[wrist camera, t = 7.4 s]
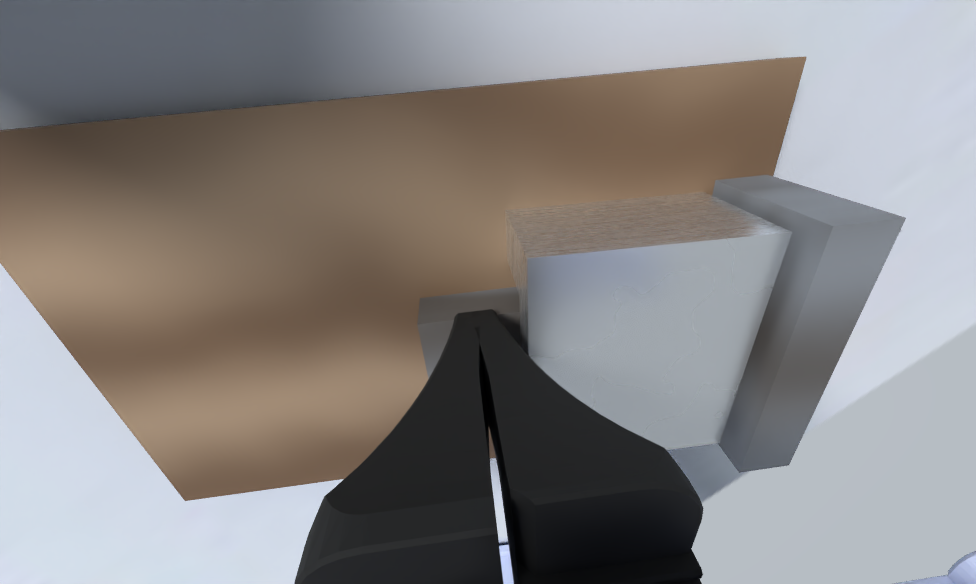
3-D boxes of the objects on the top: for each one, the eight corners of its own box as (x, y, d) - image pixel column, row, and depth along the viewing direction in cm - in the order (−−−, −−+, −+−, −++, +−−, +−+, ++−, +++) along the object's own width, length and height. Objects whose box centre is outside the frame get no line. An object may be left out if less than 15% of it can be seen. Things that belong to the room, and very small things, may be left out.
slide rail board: (691, 414, 18) (768, 519, 14) (195, 483, 17) (113, 619, 12) (783, 58, 11) (997, 47, 7) (-57, 135, 10) (-432, 181, 6)
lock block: (665, 370, 15) (719, 443, 12) (512, 388, 15) (529, 467, 12) (703, 191, 12) (792, 232, 9) (505, 210, 11) (527, 258, 8)
